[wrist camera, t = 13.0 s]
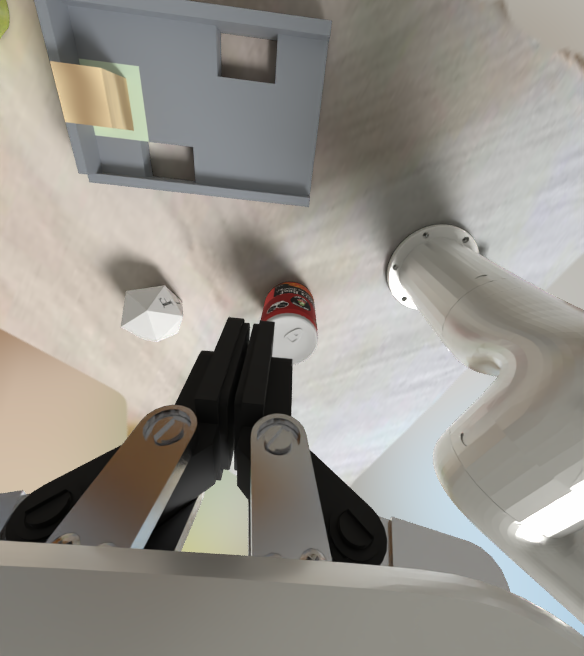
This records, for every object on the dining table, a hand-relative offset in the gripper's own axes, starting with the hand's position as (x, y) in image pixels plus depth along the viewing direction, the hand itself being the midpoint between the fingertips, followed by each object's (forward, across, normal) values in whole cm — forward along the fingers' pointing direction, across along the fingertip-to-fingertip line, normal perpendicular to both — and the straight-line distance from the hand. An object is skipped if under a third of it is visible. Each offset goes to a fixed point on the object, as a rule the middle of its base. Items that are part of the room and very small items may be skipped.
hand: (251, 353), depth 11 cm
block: (+30, +20, -9) cm, 37 cm away
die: (+32, +18, +16) cm, 40 cm away
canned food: (+32, -2, +14) cm, 35 cm away
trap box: (+32, +10, -9) cm, 35 cm away
